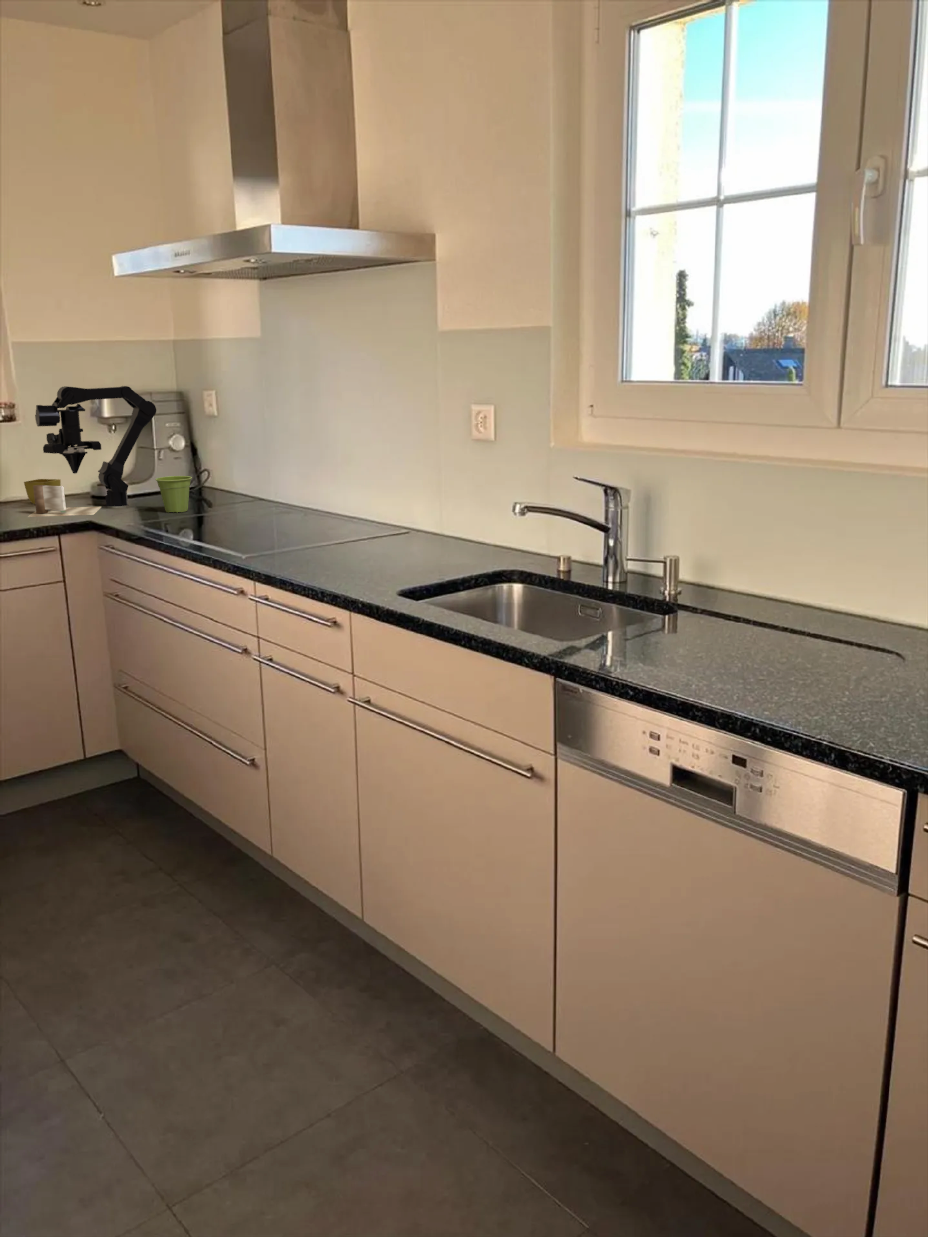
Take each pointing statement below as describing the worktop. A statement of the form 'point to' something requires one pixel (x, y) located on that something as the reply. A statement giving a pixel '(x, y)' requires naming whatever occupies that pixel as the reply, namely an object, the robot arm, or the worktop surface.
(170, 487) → the plant pot
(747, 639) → the worktop surface
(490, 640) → the worktop surface
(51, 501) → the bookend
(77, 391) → the robot arm
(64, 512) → the board
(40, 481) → the flower pot
